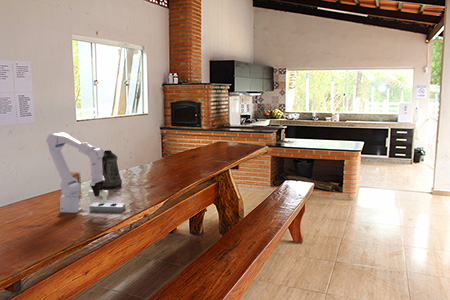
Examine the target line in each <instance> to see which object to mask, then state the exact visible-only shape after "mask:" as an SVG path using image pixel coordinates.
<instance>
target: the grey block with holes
mask: <svg viewBox="0 0 450 300" xmlns="http://www.w3.org/2000/svg"><path fill="white" fill-rule="evenodd" d="M124 210H126V203H121V202H120V203H119V202H107V203H103V202H93V203H91V204H90V205H89V212H93V213H94V212H95V213H97V212H98V213H99V212H100V213H102V212H103V213H123V211H124Z"/></svg>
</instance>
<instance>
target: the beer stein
mask: <svg viewBox="0 0 450 300" xmlns="http://www.w3.org/2000/svg"><path fill="white" fill-rule="evenodd" d="M103 151H104V156H103V157H102V170H103V176H104V179H105V180H104V181H105V183H104V185H103V189H102V190H108V191H109V190H115V189H116V190H117V189H120V188H122V184H123V180H122V178H121V175H120V171H119V166H118V156H117V155H116V154H115V153H113V152H112V150H110V149H108V150H103Z"/></svg>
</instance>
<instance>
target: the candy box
mask: <svg viewBox="0 0 450 300" xmlns="http://www.w3.org/2000/svg"><path fill="white" fill-rule="evenodd" d="M70 173H71V175H72V177H74V178H76V179H77V181H78V182H79V183H80V185H81V186H82V182H81V181H82V180H81V178H82V177H81V171H70ZM68 184H70V183H68ZM81 196H82V189H81V190H80V192H79V198H80V197H81Z"/></svg>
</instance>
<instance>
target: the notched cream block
mask: <svg viewBox="0 0 450 300" xmlns="http://www.w3.org/2000/svg"><path fill="white" fill-rule="evenodd" d="M87 196H88V197H89V203H90V204H93V203H96V202H95V196H94V193H93V190H92V189H88V191H87ZM108 196H109V190H104V189H102V190H100V191H99V197H102V203H108Z"/></svg>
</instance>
